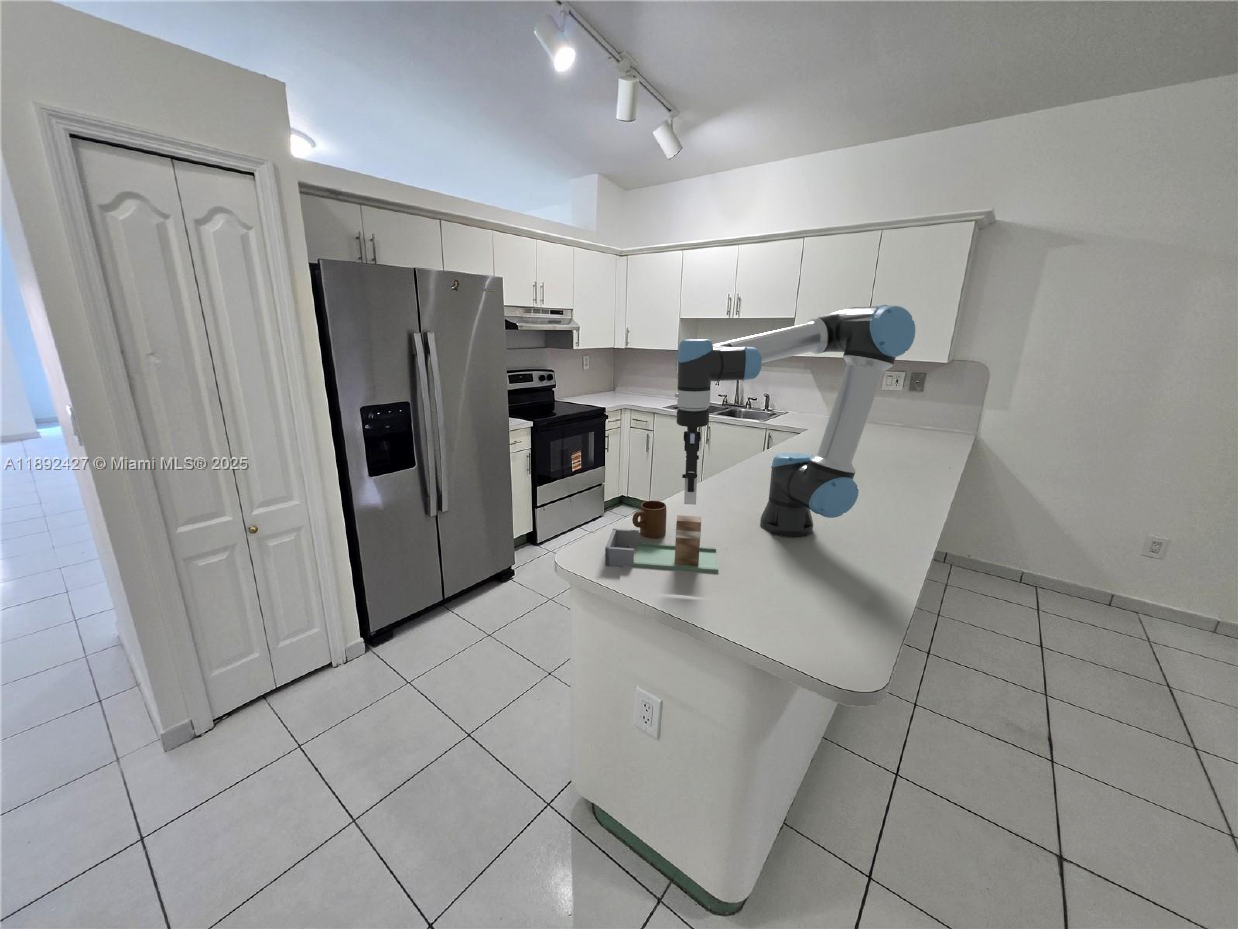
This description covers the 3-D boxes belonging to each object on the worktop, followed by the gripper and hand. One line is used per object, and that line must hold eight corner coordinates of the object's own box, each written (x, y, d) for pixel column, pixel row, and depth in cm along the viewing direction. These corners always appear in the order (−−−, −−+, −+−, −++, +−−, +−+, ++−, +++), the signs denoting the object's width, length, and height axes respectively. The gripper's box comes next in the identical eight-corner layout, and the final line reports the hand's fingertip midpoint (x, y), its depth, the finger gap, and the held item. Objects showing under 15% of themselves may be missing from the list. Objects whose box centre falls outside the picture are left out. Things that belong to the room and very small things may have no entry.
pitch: (715, 552, 125) (716, 535, 124) (718, 574, 114) (719, 556, 112) (612, 545, 129) (612, 528, 128) (605, 566, 118) (605, 548, 116)
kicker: (698, 559, 120) (701, 516, 117) (698, 566, 117) (701, 522, 113) (674, 557, 121) (676, 515, 118) (674, 564, 117) (676, 520, 114)
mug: (642, 547, 128) (643, 516, 125) (623, 538, 133) (623, 508, 130) (671, 535, 136) (672, 505, 133) (652, 527, 141) (652, 498, 138)
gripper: (678, 399, 120) (676, 477, 126) (674, 417, 96) (672, 512, 102) (707, 399, 119) (704, 478, 125) (711, 418, 95) (707, 514, 101)
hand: (690, 493), depth 114 cm, fingers open, 13 cm apart
